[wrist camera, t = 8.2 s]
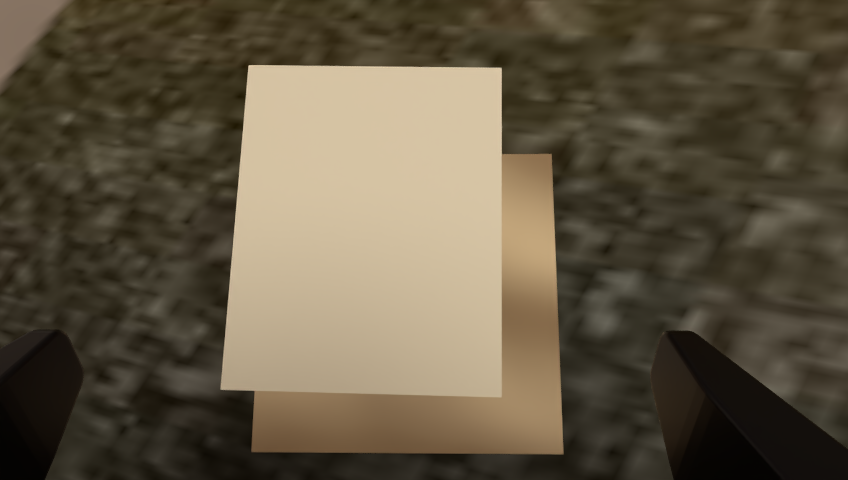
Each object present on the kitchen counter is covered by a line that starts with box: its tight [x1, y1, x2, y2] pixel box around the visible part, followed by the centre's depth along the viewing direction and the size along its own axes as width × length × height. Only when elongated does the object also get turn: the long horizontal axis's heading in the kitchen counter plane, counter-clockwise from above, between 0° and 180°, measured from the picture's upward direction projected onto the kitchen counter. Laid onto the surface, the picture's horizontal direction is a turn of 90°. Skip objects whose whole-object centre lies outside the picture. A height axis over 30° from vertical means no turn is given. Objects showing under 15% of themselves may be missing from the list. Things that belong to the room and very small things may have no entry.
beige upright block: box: [221, 65, 502, 397], centre depth 15 cm, size 5×4×13 cm
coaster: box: [251, 154, 563, 454], centre depth 22 cm, size 11×11×1 cm
